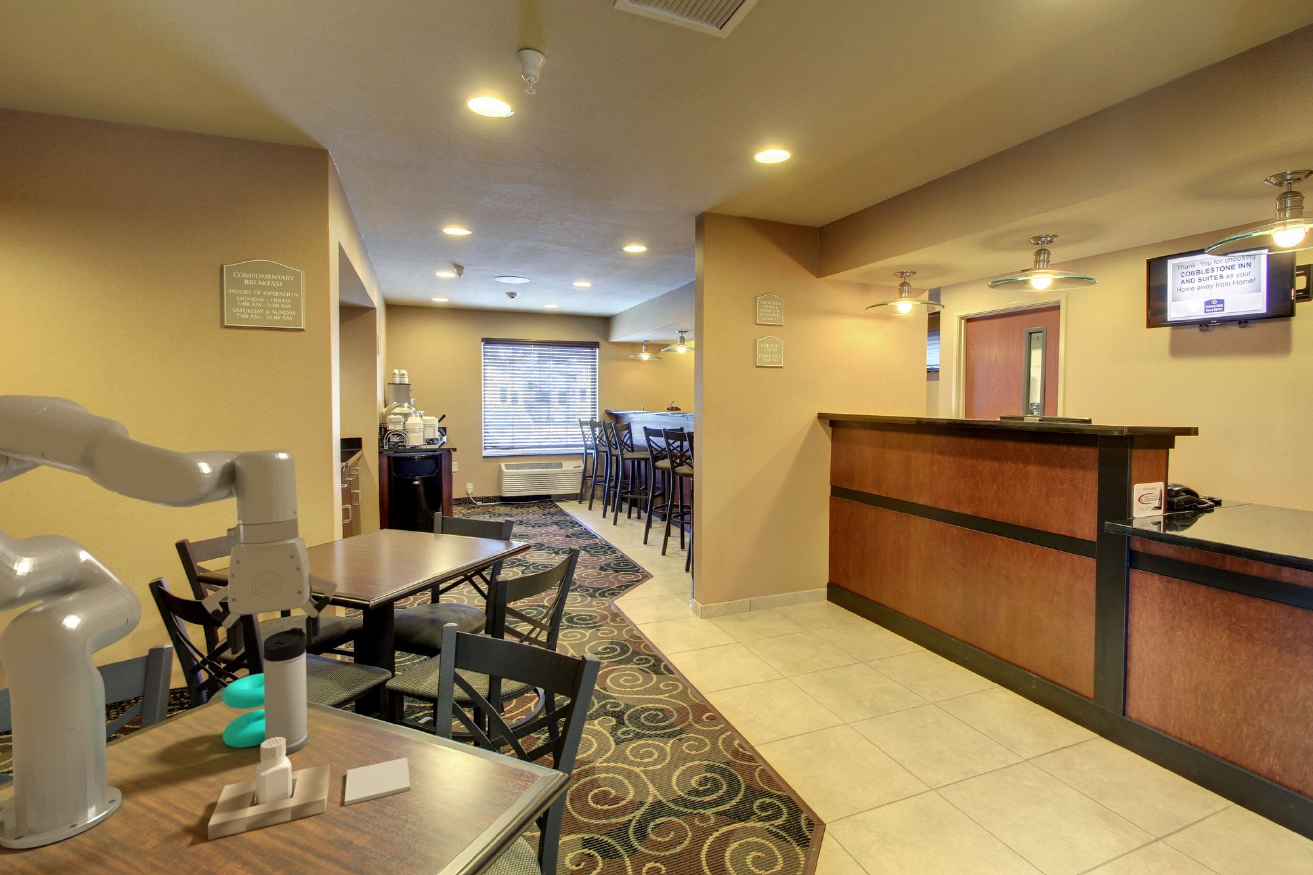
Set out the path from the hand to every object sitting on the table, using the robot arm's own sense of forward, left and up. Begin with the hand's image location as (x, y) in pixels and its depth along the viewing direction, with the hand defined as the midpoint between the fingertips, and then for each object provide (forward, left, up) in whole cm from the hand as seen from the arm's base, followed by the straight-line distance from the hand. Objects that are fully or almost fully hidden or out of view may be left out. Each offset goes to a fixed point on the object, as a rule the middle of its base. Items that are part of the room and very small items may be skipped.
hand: (275, 646), depth 91 cm
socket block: (0, -1, -23) cm, 23 cm away
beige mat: (+14, -1, -23) cm, 27 cm away
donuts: (-6, +24, -24) cm, 34 cm away
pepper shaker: (0, -1, -24) cm, 24 cm away
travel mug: (-1, +17, -23) cm, 29 cm away
